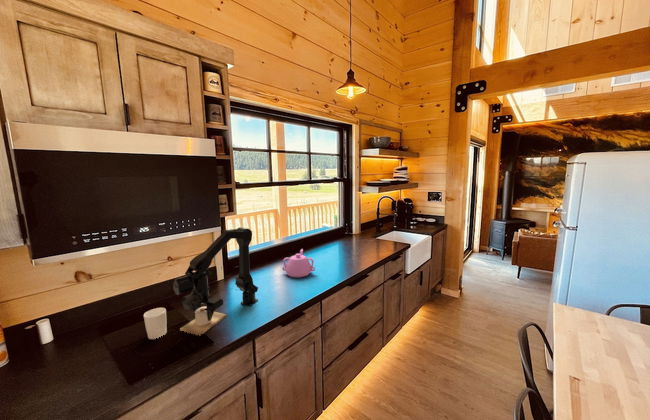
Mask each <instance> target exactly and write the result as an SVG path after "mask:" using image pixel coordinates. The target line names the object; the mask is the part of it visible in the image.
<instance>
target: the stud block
mask: <svg viewBox="0 0 650 420" xmlns="http://www.w3.org/2000/svg"><path fill="white" fill-rule="evenodd" d="M226 317H227V314H226V313H221V312H217V311H214V313H213V316H212V321H211V322H210V323H208V324H206V325H202V326H200V325H196V319H195V318H194V319H193V320H191V321H189V322H188V323H186V324H185V325H183V326H181V327H180V328H179V331H180V332H182V331H184V332H183V333H186V332H187V334H190V333H191V335H194V334H195V336H198V335H199V337H200V336H202V335H203V334H205V333H206V332H207V331H209V330H210V329H211V328H213V327H214V326H215V325H217V324H218V323H219V322H221V321H222V320H224V318H226ZM201 334H202V335H201Z"/></svg>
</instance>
